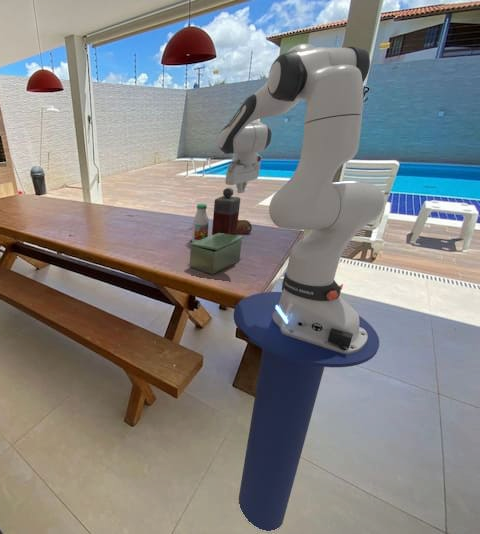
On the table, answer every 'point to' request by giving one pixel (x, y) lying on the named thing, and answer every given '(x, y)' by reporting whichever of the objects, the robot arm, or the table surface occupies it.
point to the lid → (217, 241)
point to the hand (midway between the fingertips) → (240, 192)
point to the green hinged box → (215, 257)
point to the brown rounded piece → (244, 226)
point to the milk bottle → (200, 223)
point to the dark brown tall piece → (226, 213)
